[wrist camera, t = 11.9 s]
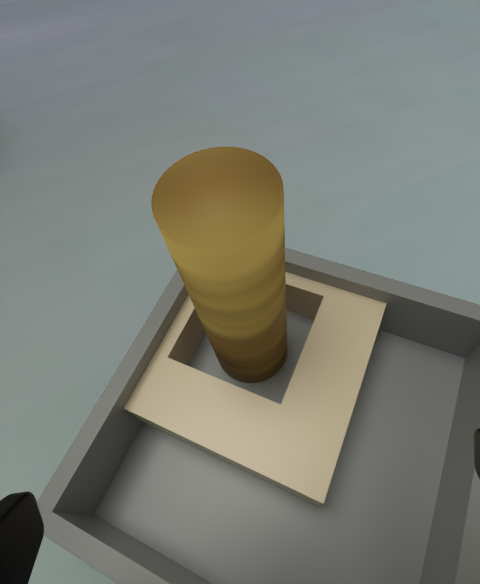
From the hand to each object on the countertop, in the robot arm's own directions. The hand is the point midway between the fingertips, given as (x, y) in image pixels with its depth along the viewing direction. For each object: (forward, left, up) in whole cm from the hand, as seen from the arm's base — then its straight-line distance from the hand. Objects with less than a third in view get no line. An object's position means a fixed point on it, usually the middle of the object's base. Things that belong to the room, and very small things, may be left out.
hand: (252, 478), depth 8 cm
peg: (+7, +4, -12) cm, 15 cm away
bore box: (+3, +1, -13) cm, 14 cm away
